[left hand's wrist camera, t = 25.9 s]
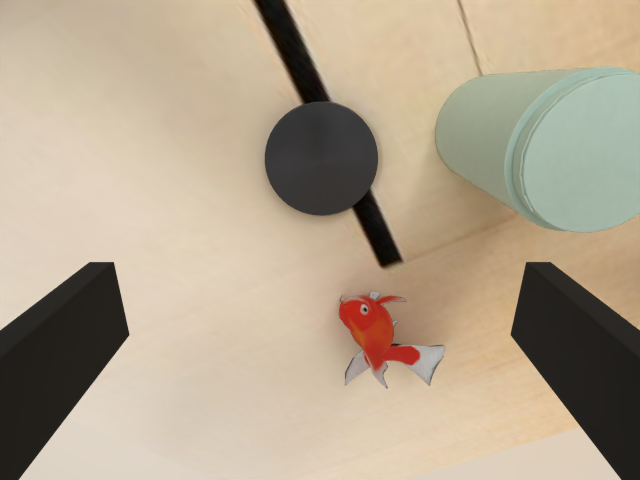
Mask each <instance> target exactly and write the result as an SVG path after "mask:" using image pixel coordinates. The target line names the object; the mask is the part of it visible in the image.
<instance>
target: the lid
mask: <svg viewBox="0 0 640 480" xmlns="http://www.w3.org/2000/svg"><path fill="white" fill-rule="evenodd" d="M377 164H378V152H377V146H376V143H375V139H374V137H373V135H372V132H371V131H370V129H369V127H368V126H367V124H366V123H365V122H364V121H363V120H362V119H361V118H360V117H359V116H358V115H357V114H356V113H355V112H353V111H352V110H350V109H349V108H347V107H345V106H343V105H340V104H337V103H333V102H328V101H316V102H310V103H305V104H303V105H300V106H298V107H296V108H294V109H292V110H291V111H290V112H288V113H287V114H286V115H285V116H283V117H282V118H281V119H280V120H279V122H278V123H277V124H276V126H275V127H274V129H273V130H272V132H271V134H270V136H269V139H268V142H267V145H266V151H265V166H266V172H267V176H268V179H269V181H270V183H271V185H272V187H273V189H274V190H275V192H276V193H277V194H278V196H279V197H280V198H281V199H282V200H283V201H284V202H286V203H287V204H288V205H289V206H291V207H293V208H294V209H296V210H299V211H301V212H304V213H307V214H312V215H331V214H335V213H339V212H342V211H344V210H346V209H348V208H350V207H351V206H353V205H354V204H356V203H357V202H358V201H359V200H360V199H361V198H362V197H363V196H364V195H365V194H366V193H367V191H368V190H369V188H370V186H371V184H372V183H373V180H374V177H375V175H376V170H377Z"/></svg>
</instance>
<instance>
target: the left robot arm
mask: <svg viewBox="0 0 640 480" xmlns="http://www.w3.org/2000/svg"><path fill="white" fill-rule="evenodd" d="M128 336H129V331H128V326H127V321H126V317H125V312H124V307H123V303H122V298H121V294H120V289H119V284H118V280H117V275H116V270H115V266H114V262H89V263H88V264H87V265H85V266H84V267H83V268H81V269H80V270H79V271H77V272H76V273H75V274H74V275H72V276H71V277H70V278H68V279H67V280H66V281H64V282H63V283H62V284H60V285H59V286H58V287H57V288H55V289H54V290H53V291H51V292H50V293H49V294H47V295H46V296H45V297H43V298H42V299H41V300H40V301H38V302H37V303H36V304H34V305H33V306H32V307H30V308H29V309H28V310H26V311H25V312H24V313H23V314H21V315H20V316H19V317H17V318H16V319H15V320H13V321H12V322H11V323H9V324H8V325H7V326H6V327H4V328H3V329H2V330H0V480H19V478H20V477H21V476H22V475H23V473H24V472H25V471H26V469H27V468H28V467H29V465H30V464H31V463H32V462H33V460H34V459H35V458H36V456H37V455H38V454H39V452H40V451H41V450H42V448H43V447H44V446H45V445H46V443H47V442H48V441H49V439H50V438H51V437H52V435H53V434H54V433H55V431H56V430H57V429H58V428H59V426H60V425H61V424H62V422H63V421H64V420H65V418H66V417H67V416H68V415H69V413H70V412H71V411H72V409H73V408H74V407H75V405H76V404H77V403H78V401H79V400H80V399H81V398H82V396H83V395H84V394H85V392H86V391H87V390H88V388H89V387H90V386H91V384H92V383H93V382H94V381H95V379H96V378H97V377H98V375H99V374H100V373H101V371H102V370H103V369H104V367H105V366H106V365H107V364H108V362H109V361H110V360H111V358H112V357H113V356H114V354H115V353H116V352H117V351H118V349H119V348H120V347H121V345H122V344H123V343H124V341H125V340H126V339H127V337H128ZM511 336H512V337H513V339H514V340H515V341H516V343H517V344H518V345H519V347H520V348H521V349H522V351H523V352H524V353H525V354H526V356H527V357H528V358H529V360H530V361H531V362H532V364H533V365H534V366H535V367H536V369H537V370H538V371H539V373H540V374H541V375H542V377H543V378H544V379H545V381H546V382H547V383H548V384H549V386H550V387H551V388H552V390H553V391H554V392H555V394H556V395H557V396H558V398H559V399H560V400H561V401H562V403H563V404H564V405H565V407H566V408H567V409H568V411H569V412H570V413H571V415H572V416H573V417H574V418H575V420H576V421H577V422H578V424H579V425H580V426H581V428H582V429H583V430H584V431H585V433H586V434H587V435H588V437H589V438H590V439H591V441H592V442H593V443H594V445H595V446H596V447H597V448H598V450H599V451H600V452H601V454H602V455H603V456H604V458H605V459H606V460H607V461H608V463H609V464H610V465H611V467H612V468H613V469H614V471H615V472H616V473H617V475H618V476H619V477H620V478H621V480H640V330H638V329H637V328H636V327H634V326H633V325H632V324H631V323H629V322H628V321H627V320H625V319H624V318H623V317H621V316H620V315H619V314H617V313H616V312H615V311H614V310H612V309H611V308H610V307H608V306H607V305H606V304H604V303H603V302H602V301H600V300H599V299H598V298H597V297H595V296H594V295H593V294H591V293H590V292H589V291H587V290H586V289H585V288H583V287H582V286H581V285H580V284H578V283H577V282H576V281H574V280H573V279H572V278H570V277H569V276H568V275H566V274H565V273H564V272H563V271H561V270H560V269H559V268H557V267H556V266H555V265H553V264H552V263H551V262H526V266H525V270H524V275H523V280H522V284H521V289H520V294H519V298H518V303H517V307H516V312H515V317H514V321H513V326H512V331H511Z"/></svg>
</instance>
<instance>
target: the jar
mask: <svg viewBox="0 0 640 480" xmlns="http://www.w3.org/2000/svg"><path fill="white" fill-rule="evenodd" d="M435 141H436V146H437V150H438V153H439V155H440V157H441V159H442V160H443V162H444V163H445V164H446V165H447V167H448V168H449V169H451V170H452V171H453V172H455V173H456V174H458V175H459V176H461V177H463V178H464V179H466V180H467V181H469V182H470V183H472V184H473V185H475V186H477V187H478V188H480V189H481V190H483V191H484V192H486V193H487V194H489V195H491V196H492V197H494V198H495V199H497V200H498V201H500V202H501V203H503V204H505V205H506V206H508V207H509V208H511V209H512V210H514V211H516V212H517V213H519V214H520V215H522V216H523V217H525V218H526V219H528V220H530V221H531V222H533V223H535V224H537V225H539V226H541V227H544V228H547V229H552V230H557V231H570V232H579V233H584V232H596V231H602V230H606V229H609V228H612V227H615V226H618V225H620V224H622V223H624V222H626V221H628V220H630V219H632V218H633V217H635V216H637V215H638V214H640V74H639V73H637V72H635V71H632V70H628V69H625V68H619V67H592V68H577V69H562V70H548V71H533V72H518V73H504V74H489V75H483V76H480V77H477V78H474V79H472V80H470V81H468V82H466V83H464V84H463V85H461V86H460V87H459V88H458V89H456V90H455V91H454V92H453V93H452V94H451V96H450V97H449V98H448V99H447V101H446V102H445V104H444V105H443V107H442V109H441V111H440V113H439V116H438V119H437V123H436V130H435Z"/></svg>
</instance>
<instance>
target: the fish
mask: <svg viewBox="0 0 640 480" xmlns="http://www.w3.org/2000/svg"><path fill="white" fill-rule="evenodd" d="M379 296H380V293H379V292H370V297H368V296H353V297H350V298H347V299H345V300H344V301H342V300H341V298H342V296H341V298H340V302H341V304H340V308H339V317H340V319H341V320H342V321H343V323H344V324H345V326H346V327H347V328H349V329H350V331H351V334H352V336H353V338H354V339H355V341H356V342H357V343H358V344H359V345H360V346H361V347H362V348H363V350H362V351H361V352H359V353H358V354H357V355H356V356H355V357H354V358H353V359H352V361H351V363H350V365H349V366H348V368H347V370H346V372H345V386H346V385H347V384H348V383H349V382H350V381H351V380H352V379H353V378H355V377H356V376H357V375H358V374H360V373H361V372H363V371H364V370H366V369H368V368H369V367H371V370H372V373H373V375H374V376H375V377H376V378H377V380H378V381H379V382H380V383H381V384H382V385H384V386H385V387H386V388H387V385H386V383H385V380H384V377H383V374H384V372H385V371H386V369H387V367H388V366H387V364H386V362H385V361H387V360H394V361H399V362H401V363H403V364H405V365H406V366H408V367H409V368H410V369H411V370H412V371H413V372H414V373H416V374H417V375H418V376H419V377H420V378H421V379H423V380H424V381H425V382H426V383H427V384H428V385H430V382H431V379H432V376H433V374H434V371H435V369H436V367H437V365H438V364H439V362H440V361H441V359H442V358H443V355H444V350H445V345H436V346H419V345H405V344H392V340H393V336H394V330H393V327H394V326H395V324H396V323H397V320H396V321H393V322H392V319H391V317H390V315H389V313H388V311H387V310H386V309H385V308H384V307H383V306H382V305H384V304H386V303H389V302H406V300H405V299H404V298H401V297H396V296H387V297H382V298H380V299H378V300H377V298H378V297H379Z"/></svg>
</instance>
